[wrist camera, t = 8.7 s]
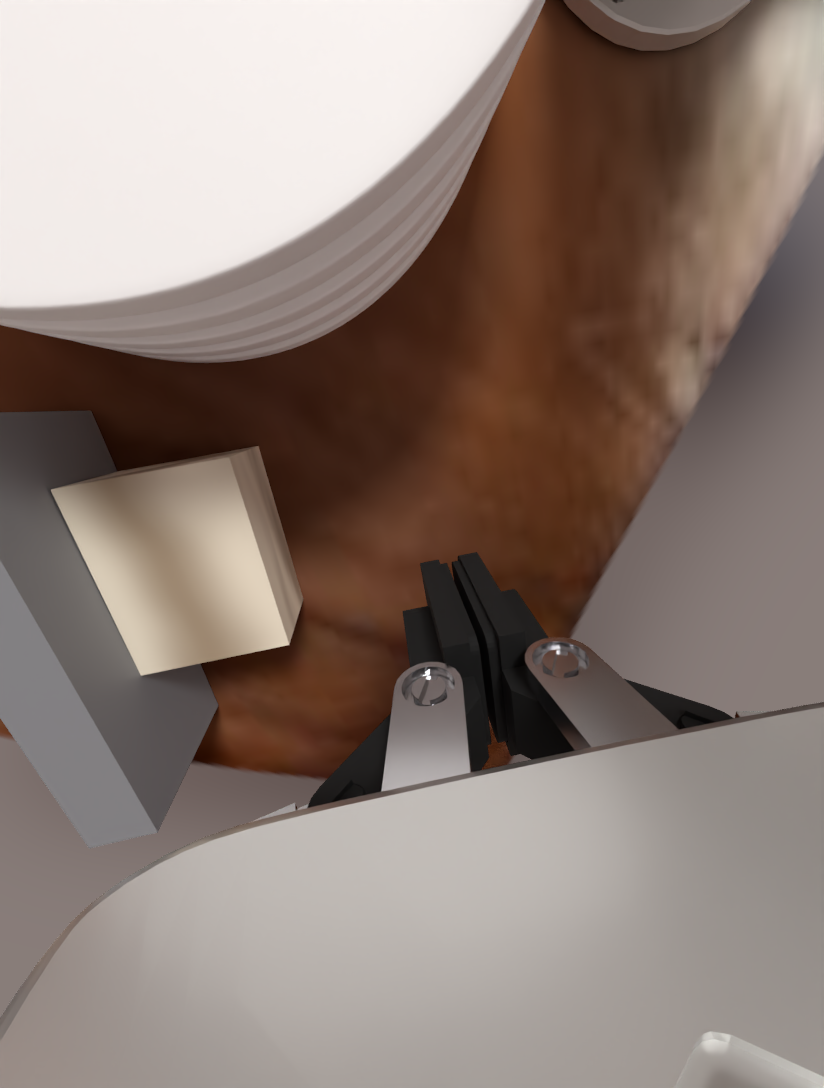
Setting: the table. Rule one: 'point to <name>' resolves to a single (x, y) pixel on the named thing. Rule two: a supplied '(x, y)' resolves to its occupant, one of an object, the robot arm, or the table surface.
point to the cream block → (188, 557)
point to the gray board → (81, 649)
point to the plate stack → (233, 161)
